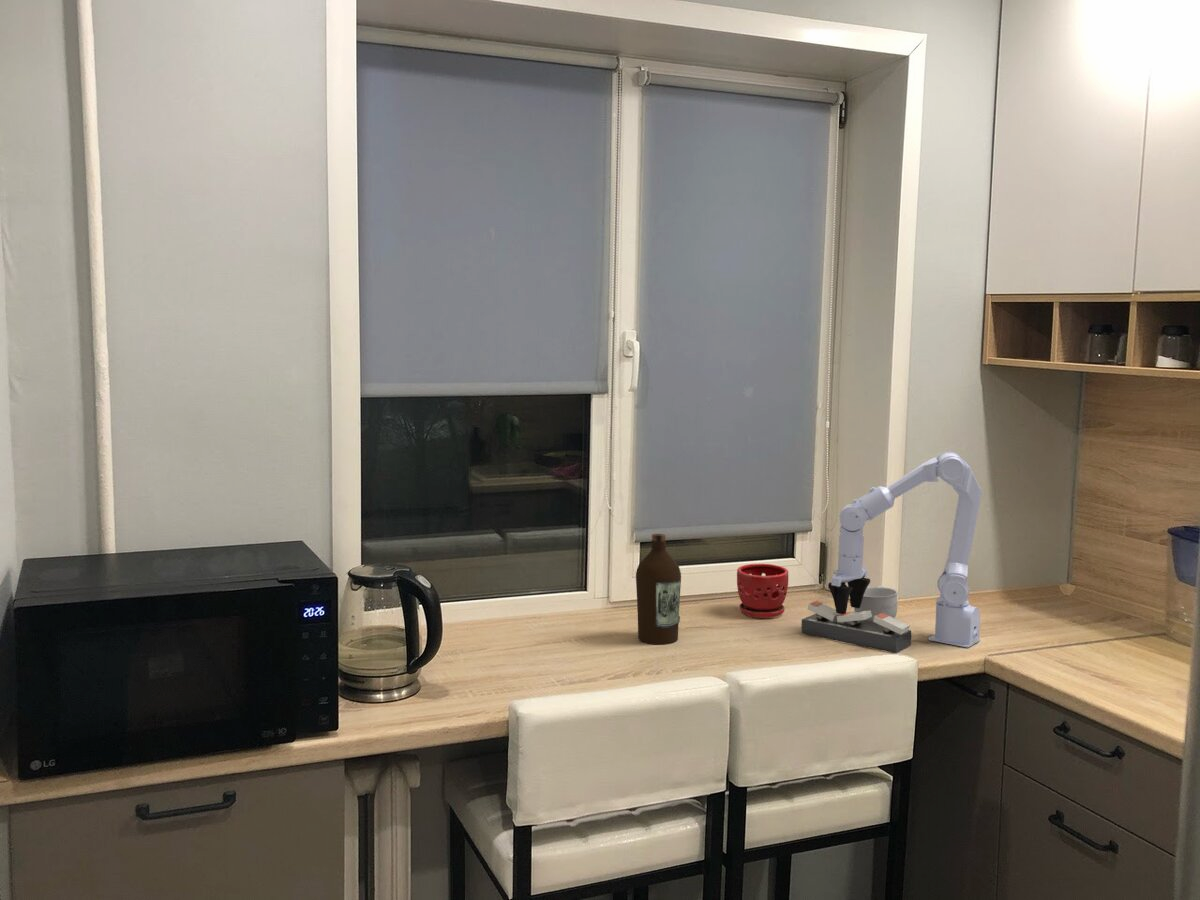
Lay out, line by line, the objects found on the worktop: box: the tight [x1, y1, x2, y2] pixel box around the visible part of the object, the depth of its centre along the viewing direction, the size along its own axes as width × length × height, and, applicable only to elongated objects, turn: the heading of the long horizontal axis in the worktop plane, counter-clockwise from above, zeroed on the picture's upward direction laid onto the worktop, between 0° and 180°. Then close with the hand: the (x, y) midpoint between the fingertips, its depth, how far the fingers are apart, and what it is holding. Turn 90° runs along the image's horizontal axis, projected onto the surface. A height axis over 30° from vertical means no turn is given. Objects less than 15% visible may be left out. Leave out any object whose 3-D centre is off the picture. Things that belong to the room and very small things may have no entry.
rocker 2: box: [837, 611, 872, 622], centre depth 239 cm, size 7×4×2 cm, turn 49°
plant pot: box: [736, 563, 789, 619], centre depth 260 cm, size 13×13×12 cm
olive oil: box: [635, 533, 682, 645], centre depth 238 cm, size 11×11×25 cm
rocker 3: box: [873, 613, 910, 635], centre depth 233 cm, size 7×4×2 cm, turn 50°
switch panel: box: [801, 613, 912, 654], centre depth 239 cm, size 24×8×5 cm, turn 49°
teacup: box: [853, 585, 899, 624], centre depth 255 cm, size 14×11×8 cm
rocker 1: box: [807, 600, 840, 621], centre depth 244 cm, size 7×4×2 cm, turn 50°
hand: (848, 610), depth 243 cm, fingers open, 7 cm apart
